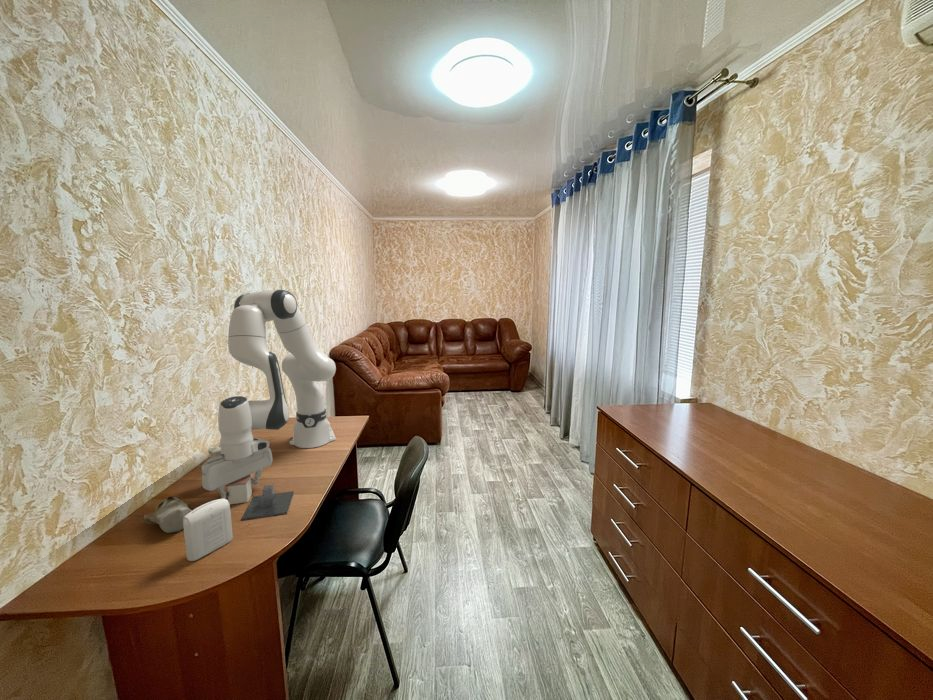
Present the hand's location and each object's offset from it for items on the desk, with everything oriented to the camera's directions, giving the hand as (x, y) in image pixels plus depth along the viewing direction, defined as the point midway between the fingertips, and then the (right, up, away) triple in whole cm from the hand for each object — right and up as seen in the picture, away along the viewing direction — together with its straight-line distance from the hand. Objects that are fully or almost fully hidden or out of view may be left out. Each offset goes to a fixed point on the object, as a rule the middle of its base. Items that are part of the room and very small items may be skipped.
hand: (241, 490), depth 116 cm
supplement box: (-11, -1, +10) cm, 15 cm away
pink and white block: (0, -3, 0) cm, 3 cm away
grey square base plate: (+11, -3, -3) cm, 12 cm away
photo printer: (+6, -7, -22) cm, 24 cm away
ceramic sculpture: (-12, -5, -13) cm, 18 cm away
